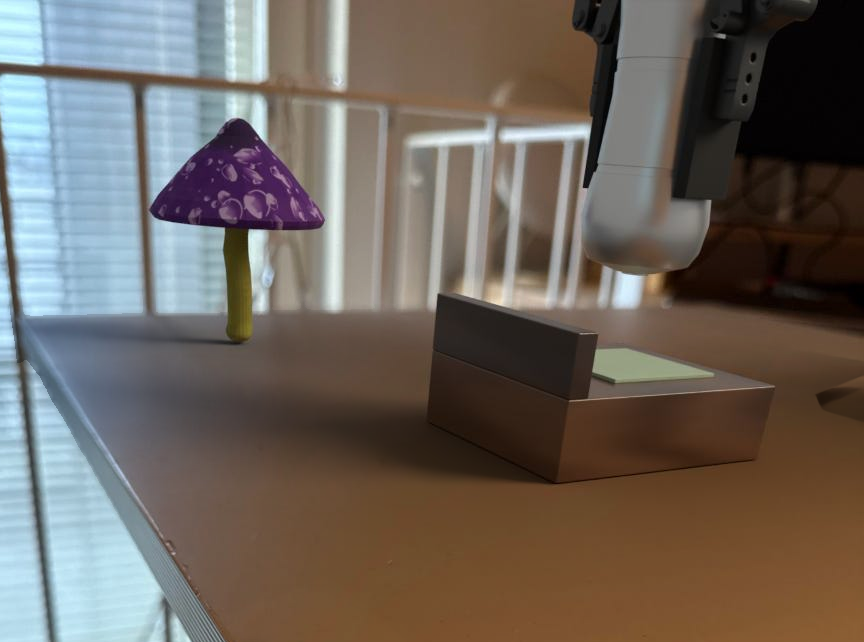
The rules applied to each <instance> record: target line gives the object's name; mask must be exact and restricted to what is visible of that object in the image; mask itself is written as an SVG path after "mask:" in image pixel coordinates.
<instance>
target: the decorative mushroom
mask: <svg viewBox="0 0 864 642" xmlns="http://www.w3.org/2000/svg"><path fill="white" fill-rule="evenodd" d="M148 211H149V212H150V215H152V216H153V217H154V219H156V220H158V221H163V222H169V223H175V224H180V225H189V226H201V227H209V228H221V229H224V235H223V236H224V237H223V244H222V245H223V246H222V254H223V261H224V268H225V279H226V293H227V294H226V298H227V299H226V300H227V306H226V307H227V324H226V328H225V334H226V336H227V337H228V338H229V339H230V341H234V342H236V343H238V344H240V343H243V342H247V341H249V340H250V339H251V337H252V336H253V284H252V268H251V263H250V262H251V261H250V253H249V251H250V250H249V232H250V230H254V231H255V230H256V231H257V230H259V231H312V230H318V229H321V228H322V227H323V226H324V224H325V221H326V219H325V216H324V214H323V213H322V211H321V209H320V208H319V206H318V204H317V203H316V202H315V201H314V199H312V197H311V196H310V195H309V194H308V193H307V192H306V190H305V189H304V187H303V186H302V184H301V183H300V182H299V181H298V180H297V177H295V176H294V175H293V173H292V171H291V170H290V169H289V167H287V165H286V164H285V163H284V162H283V161H282V160H281V159H280V158H279V157H278V156H277V155H276V154H275V153H274V152H273V150H272V149H271V148H270V147H269V145H268V144H267V143H266V142H265V141H264V140H263V139H262V138H261V136H260V135H259V134H258V132H257V131H256V130H255V128H254V127H253V126H252V125H251V124H250V123H249V122H248V121H247V120H245V119H244V118H241V117H233V118H230V119H229V120H228V121H226V122H225V123H224V124H223V125H221V127H220V128H219V130H218V132H217V134H216V135H215V136H214V138H212V139H211V140H210V141H209V142H207V143H206V144H204V145H203V146H202V147H201V148H199V150H198V151H196V152H195V153H194V154H193V155H191V156H190V157H189V159H188V160H187V161H185V163H184V164H183V165H182V166H181V167H180V169H179V170H178V171H177V172H176V173H175V174H174V175H173V176H172V178H171V179H170V180H169V181H168V183H166V185H165V186H164V187H163V189H161V190H160V192H159V193H158V194H157V196H156V197H155V199H154V200H153V202H152V204H151V205H150V206H149V208H148Z"/></svg>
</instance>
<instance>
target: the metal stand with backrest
mask: <svg viewBox="0 0 864 642" xmlns="http://www.w3.org/2000/svg"><path fill="white" fill-rule="evenodd" d="M598 340H599V332H597V331H594V330H590V329H586V328H584V327H583V328H582V327H580V326H576V325H573V324H568V323H565V322H561V321H557V320H554V319H551V318H550V319H549V318H547V317H543V316H539V315H535V314H532V313H529V312H525V311H521V310H518V309H515V308H511V307H507V306H503V305H500V304H496V303H493V302H489V301H486V300H482V299H479V298H476V297H475V298H474V297H471V296H467V295H463V294H460V293H456V292H438V293H437V295H436V305H435V316H434V328H433V340H432V351H431V352H432V354H431V363H430V364H431V365H430V376H429V386H428V387H429V389H428V398H427V410H426V422H429V423H430V424H432V425H434V426H435V427H438V428H441V429H443V430H445V431H446V432H449V433H451V434H453V435H455V436H457V437H459V438H461V439H463V440H465V441H468V442H469V443H472V444H474V445H476V446H478V447H480V448H481V449H484V450H486V451H488V452H491V453H492V454H495V455H497V456H498V457H501V458H503V459H505V460H507V461H509V462H511V463H513V464H515V465H516V466H519V467H521V468H523V469H525V470H527V471H529V472H532V473H534V474H536V475H538V476H540V477H541V478H544V479H545V480H548V481H550V482H552V483H553V484H561V483H569V482H579V481H587V480H594V479H595V480H597V479H603V478H604V479H605V478H612V477H619V476H628V475H629V476H631V475H637V474H645V473H654V472H662V471H663V472H664V471H667V470H668V471H670V470H679V469H687V468H694V467H695V468H696V467H703V466H712V465H720V464H729V463H736V462H737V463H738V462H744V461H745V462H746V461H754V460H757V459H758V458H759V453H760V449H761V445H762V441H763V437H764V433H765V429H766V425H767V421H768V417H769V413H770V409H771V406H772V401H773V398H774V393H775V389H776V386H775V385H773V384H769V383H766V382H762V381H759V380H755V379H752V378H748V377H744V376H742V375H737V374H734V373H730V372H727V371H724V370H720V369H716V368H713V367H708V366H706V365H702V364H698V363H696V362H691V361H688V360H685V359H681V358H677V357H674V356H670V355H667V354H663V353H659V352H656V351H652V350H648V349H645V348H642V347H638V346H635V345H631V344H627V343H623V342H613V343H598Z"/></svg>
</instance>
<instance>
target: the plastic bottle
mask: <svg viewBox="0 0 864 642" xmlns="http://www.w3.org/2000/svg"><path fill="white" fill-rule="evenodd" d="M718 16H720V7H719V0H621V21H620V33H619V41H618V50H617V59H616V60H617V61H618V65H617V72H615V77H614V87H613V95H612V100H611V104H610V109H609V113H608V118H607V122H606V127H605V131H604V135H603V140H602V144H601V149H600V153H599V158H598V162H597V163H598V167H597V170H596V172H594V173H593V176H592V179H591V182H590V185H589V188H587V192H586V195H585V200H584V203H583V207H582V211H581V214H580V215H581V217H580V219H581V220H580V222H581V223H580V235H581V236H580V243H581V246H582V249H583V251H584V254H585V256H586V258H587V260H590V261H592V262H595V263H597V264H599V265H601V266H604V267H607V268H609V269H611V270H614V271H616V272H621V274H624V275H629V276H639V277H648V276H649V275H658V274H663V273H668V272H673V271H678V270H684V269H687V268H689V267H690V266H691V264H692V263H693V262H694V261H695V260H696V258H697V257H698V256H699V255H700V252H701V251H702V246H703V244H704V241H705V238H706V235H707V233H708V230H709V227H710V220H711V209H712V200H700V199H684V198H674V197H673V195H674V189H675V184H676V178H677V173H678V168H679V162H680V157H681V151H682V146H683V141H684V135H685V130H686V124H687V119H688V114H689V108H690V103H691V97H692V92H693V87H694V81H695V76H696V70H697V65H698V60H699V54H700V49H701V43H702V38H709V37H718V38H724V39H725V37H726V35H725V34H719V33H714V32H711V31H710V29H709V28H708V22H709V21H712V19H714V18H716V17H718ZM712 22H713V21H712Z"/></svg>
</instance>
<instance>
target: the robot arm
mask: <svg viewBox="0 0 864 642" xmlns="http://www.w3.org/2000/svg"><path fill="white" fill-rule="evenodd" d="M818 1H819V0H719V7H720V16H718V17H716V18H714V19H712V21H713V22H712V21H709V22H708V28H709V29H710V31H711V32H714V33H719V34H725V35H726V37H725V39H724V38H718V37H709V38H702V43H701V49H700V54H699V60H698V65H697V70H696V76H695V81H694V87H693V92H692V97H691V103H690V108H689V114H688V119H687V124H686V130H685V135H684V141H683V146H682V151H681V157H680V162H679V168H678V173H677V178H676V184H675V189H674V195H673V197H674V198H684V199H700V200H711V201H717V202H718V201H720V202H725V201H726V198H727V193H728V188H729V183H730V177H731V173H732V169H733V164H734V159H735V154H736V149H737V144H738V141H739V140H738V139H739V135H740V130H741V125H742V122H748V121H749V120H750V117H751V115H752V113H753V111H754V109H755V105H756V100H757V93H758V91H759V83H760V82H761V81H760V80H761V78H762V77H761V76H762V72H763V67H764V62H765V57H766V52H767V48H768V45H769V43H770V41H771V40H772V38H774V36H775V35H776V33H777V32H778V31H779V30H780V29H782V28H784V27H786V26H788V25H790V24H791V23H793V22H795V21H796V22H805V21H807V20H809V19H810V18H811V17H812V16H813V15H814V12H815V11H816V10H817V6H818ZM620 21H621V0H574V4H573V10H572V16H571V26H572V28H573V30H574V31H576V32H580V33H581V32H582V33H584V34H586V35H587V36H589V37H591V38H592V39H593V42H594V43H595V44H596V45H595V46H596V58H595V65H594V71H593V78H592V85H591V94H590V99H589V105H588V107H589V117H590V118H592V119H591V126H590V133H589V139H588V140H589V141H588V146H587V153H586V160H585V169H584V174H583V181H582V186H581V188H582V189H588V188H589V185H590V182H591V179H592V176H593V173H594V172H596V170H597V167H598V163H597V162H598V158H599V153H600V149H601V144H602V140H603V135H604V131H605V127H606V122H607V118H608V113H609V109H610V104H611V100H612V95H613V87H614V77H615V72H617V65H618V61H617V60H616V59H617V50H618V41H619V33H620Z"/></svg>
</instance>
